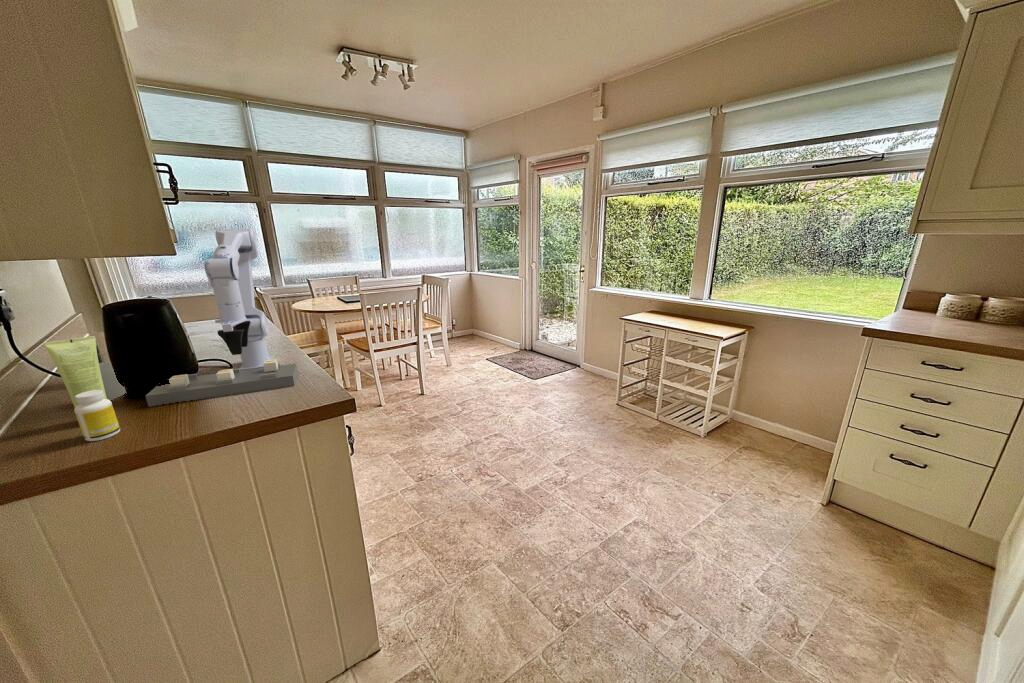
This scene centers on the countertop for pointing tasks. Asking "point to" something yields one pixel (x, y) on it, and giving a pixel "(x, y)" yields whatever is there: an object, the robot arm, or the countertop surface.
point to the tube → (77, 365)
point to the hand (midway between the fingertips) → (240, 350)
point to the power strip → (224, 385)
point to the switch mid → (225, 374)
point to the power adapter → (110, 381)
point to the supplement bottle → (96, 416)
